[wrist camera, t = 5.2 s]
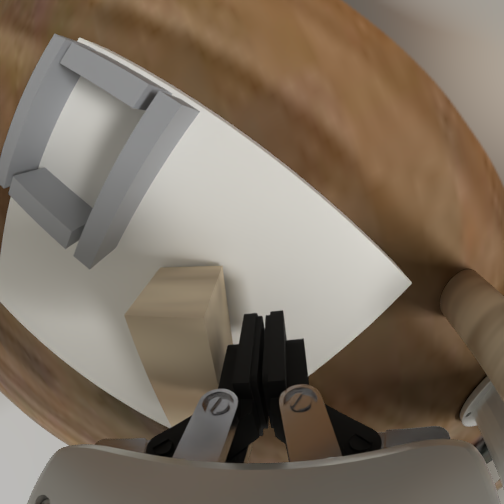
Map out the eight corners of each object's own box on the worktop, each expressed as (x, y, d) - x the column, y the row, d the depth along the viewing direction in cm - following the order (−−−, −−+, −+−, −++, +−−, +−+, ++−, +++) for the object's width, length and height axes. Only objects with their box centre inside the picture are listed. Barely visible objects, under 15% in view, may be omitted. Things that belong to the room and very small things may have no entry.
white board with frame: (391, 259, 15) (433, 309, 10) (208, 417, 22) (198, 467, 17) (107, 49, 12) (49, 26, 6) (17, 282, 18) (-21, 313, 13)
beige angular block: (246, 418, 17) (241, 466, 13) (200, 415, 17) (189, 462, 14) (224, 265, 13) (206, 317, 9) (158, 267, 13) (121, 315, 9)
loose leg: (486, 288, 16) (553, 359, 7) (452, 325, 17) (508, 408, 9) (468, 258, 15) (550, 333, 7) (431, 300, 16) (497, 393, 8)
